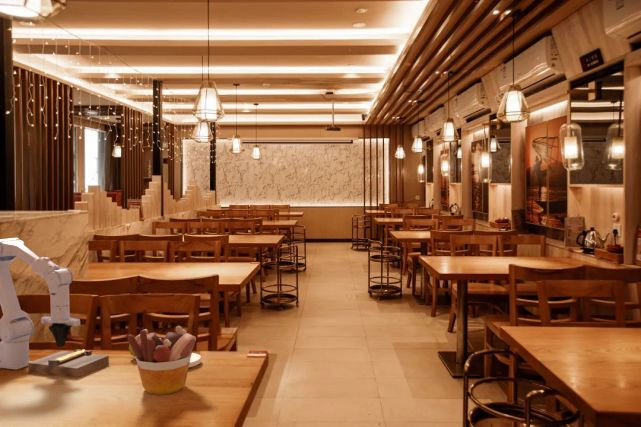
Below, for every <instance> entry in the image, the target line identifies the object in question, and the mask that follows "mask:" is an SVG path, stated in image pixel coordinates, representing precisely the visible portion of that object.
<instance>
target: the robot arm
mask: <svg viewBox="0 0 641 427" xmlns="http://www.w3.org/2000/svg"><path fill="white" fill-rule="evenodd" d="M17 258H18V259H20V260H21V261H24V263H27V264H28V265H30V266H31V269H32V272H34V273H35V274H37V275H38V276H40V277H41V278H42V279H44V280H45V283H46V285H47V288H48V292H49V296H50V298H49V299H50V303H49V304H50V316H42V317H40V323H41V324H51V325H50V326H48V330H50V332H51V334H52V336H53V338H54V341H55V344H56V347H58V348H62V347H64V346H66V341H67V337H68V334H69V332H70V330H71V328H72V327H79V326H81V319H80V318H75V317H70V316H71V314H70V285H71V283H72V282H73V279H74V276H73V273H72V270H70V269H69V268H68V267H60V265H59V264H56V263H54V262H53V261H51V260H50V257H48V256H46V257H45V256H42V257H39V256H38V255H36V253H35V252H33V251H32V250H31V249H30V248H28V247H27V246H26V245H25V242H24V241H23V240H21V239H20V238H18V237H11V238H1V239H0V307H1V311H2V314H3V315H2V316H1V318H0V340H1V341H0V369H7V370H20V369H22V368H25V367H28V363H29V362H32V361H33V360H31V361H30V345H29V344H30V340H29V339H30V338H31V335H32V334H33V333H34V331H35V330H34V329H35V325H34V323H33V321H32V320H31V318H30V315H29V313H28V312H25V311H24V310H22V309H21V306H20V302H19V298H18V295H17V292H16V289H15V285H14V281H13V278H12V275H11V272H10V268H9V267H10V265H11V263H13V262H14V261H15V259H17Z"/></svg>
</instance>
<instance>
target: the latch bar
mask: <svg viewBox="0 0 641 427" xmlns="http://www.w3.org/2000/svg"><path fill="white" fill-rule="evenodd" d="M86 351H87V350H85V349H80V350H79V351H77V352H74V351H73V352H74V353H71V354H68V355H65V356H63V357H60V358H57V359H54V360H59V362H63V361H66V360H69V359H71V358H74V357H77V356H79V355H82V354H85V353H86Z"/></svg>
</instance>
